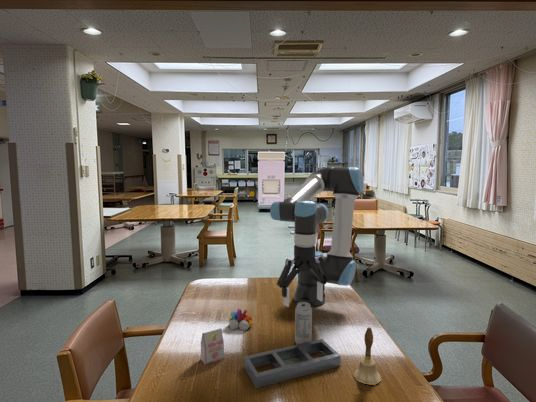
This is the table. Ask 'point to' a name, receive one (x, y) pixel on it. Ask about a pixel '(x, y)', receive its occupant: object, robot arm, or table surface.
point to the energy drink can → (303, 322)
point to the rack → (290, 362)
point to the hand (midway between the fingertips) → (303, 302)
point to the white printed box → (212, 346)
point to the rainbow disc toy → (240, 320)
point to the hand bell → (367, 363)
